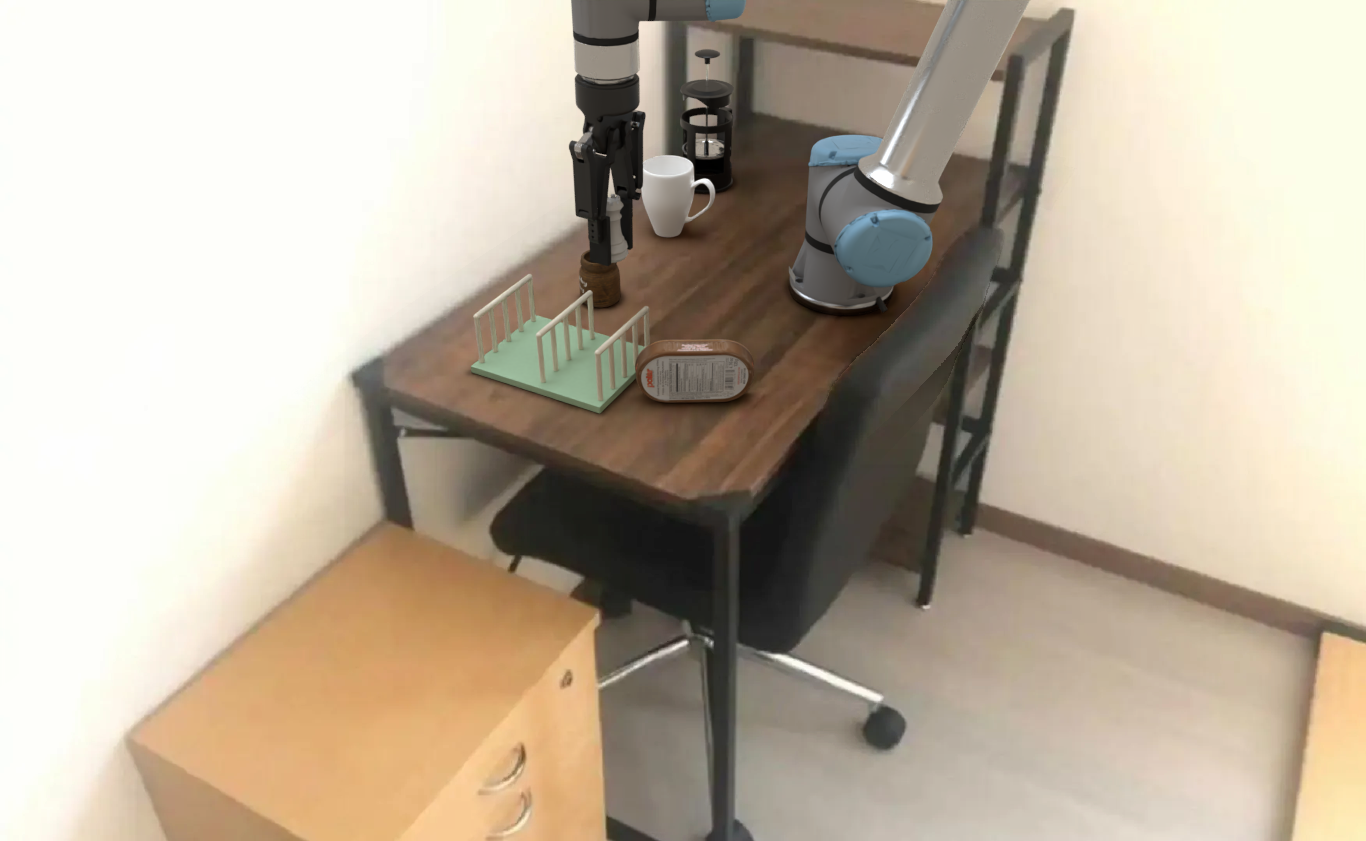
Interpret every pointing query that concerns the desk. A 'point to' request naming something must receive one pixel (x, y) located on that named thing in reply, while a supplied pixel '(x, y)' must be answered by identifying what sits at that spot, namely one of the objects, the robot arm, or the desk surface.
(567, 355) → the drying rack
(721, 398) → the tin
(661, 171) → the mug
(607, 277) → the utensil holder
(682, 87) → the french press
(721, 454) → the desk surface
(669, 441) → the desk surface
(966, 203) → the desk surface
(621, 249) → the rook chess piece
